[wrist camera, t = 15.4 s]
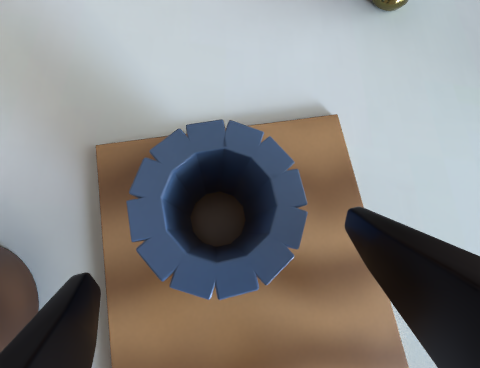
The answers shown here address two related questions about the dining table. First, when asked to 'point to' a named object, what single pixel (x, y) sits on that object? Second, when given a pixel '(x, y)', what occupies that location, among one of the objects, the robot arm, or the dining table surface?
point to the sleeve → (210, 181)
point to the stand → (15, 296)
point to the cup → (389, 4)
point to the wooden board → (267, 296)
